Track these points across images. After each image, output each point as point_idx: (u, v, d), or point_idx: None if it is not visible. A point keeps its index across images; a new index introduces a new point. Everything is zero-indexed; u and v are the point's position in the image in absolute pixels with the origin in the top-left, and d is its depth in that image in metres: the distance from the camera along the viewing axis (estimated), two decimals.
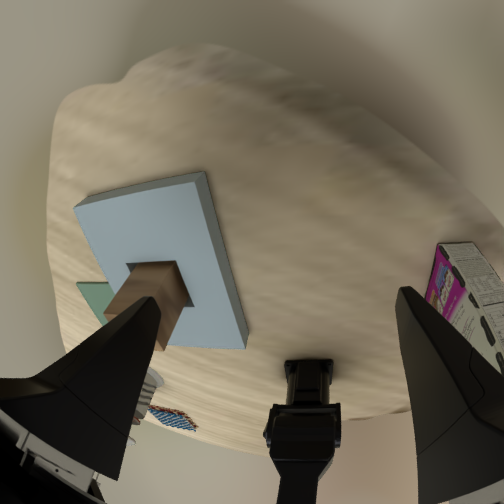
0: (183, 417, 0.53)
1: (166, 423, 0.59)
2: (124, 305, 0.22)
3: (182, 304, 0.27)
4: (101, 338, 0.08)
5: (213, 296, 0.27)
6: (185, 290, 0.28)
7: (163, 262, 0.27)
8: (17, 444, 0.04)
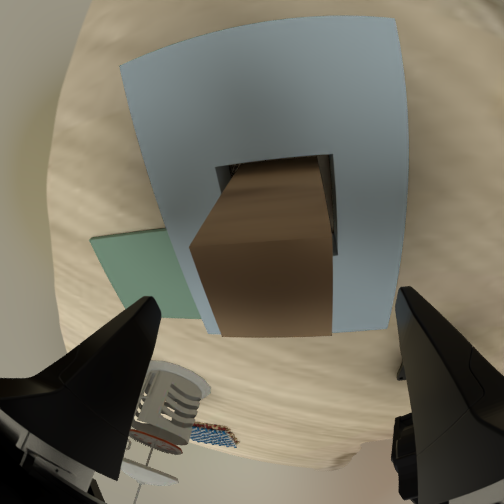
0: (226, 433, 0.41)
1: (198, 439, 0.46)
2: (252, 224, 0.09)
3: None
4: (101, 338, 0.08)
5: (380, 230, 0.15)
6: None
7: (294, 166, 0.14)
8: (17, 444, 0.04)
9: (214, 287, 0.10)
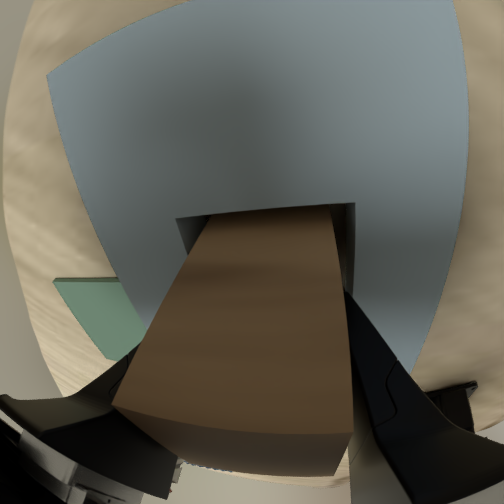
0: None
1: None
2: (212, 374, 0.05)
3: None
4: None
5: (409, 302, 0.10)
6: None
7: (294, 215, 0.10)
8: (63, 479, 0.03)
9: (163, 439, 0.05)
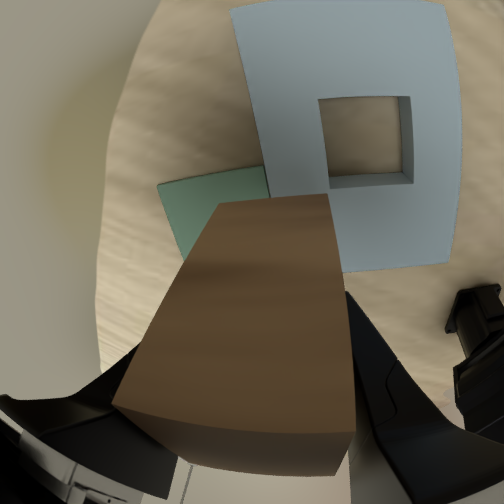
0: None
1: None
2: (213, 372, 0.05)
3: None
4: None
5: (444, 163, 0.15)
6: None
7: (295, 214, 0.10)
8: (63, 479, 0.03)
9: (163, 439, 0.05)
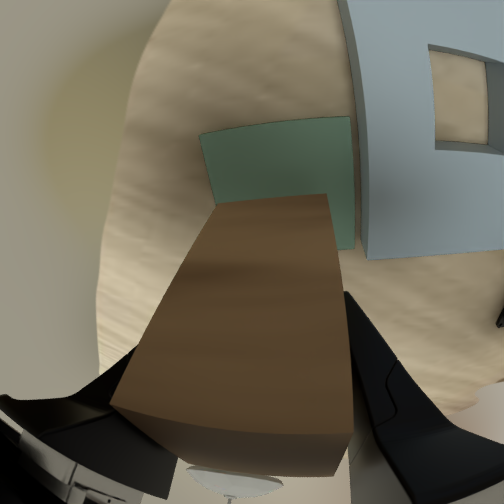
0: None
1: None
2: (211, 373, 0.05)
3: None
4: None
5: None
6: None
7: (294, 214, 0.10)
8: (63, 479, 0.03)
9: (162, 439, 0.05)
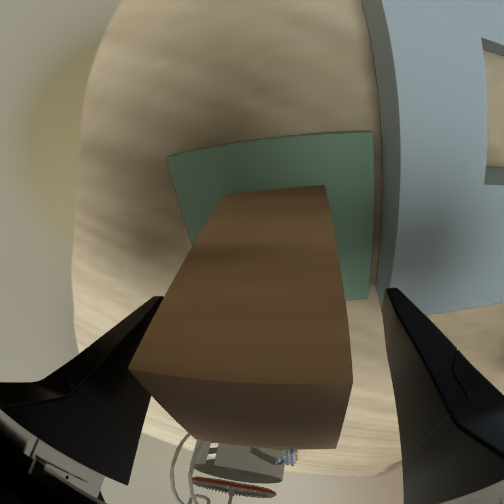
0: (294, 453, 0.32)
1: None
2: (223, 335, 0.06)
3: None
4: (112, 340, 0.08)
5: None
6: None
7: (295, 203, 0.10)
8: (26, 451, 0.04)
9: (174, 407, 0.06)
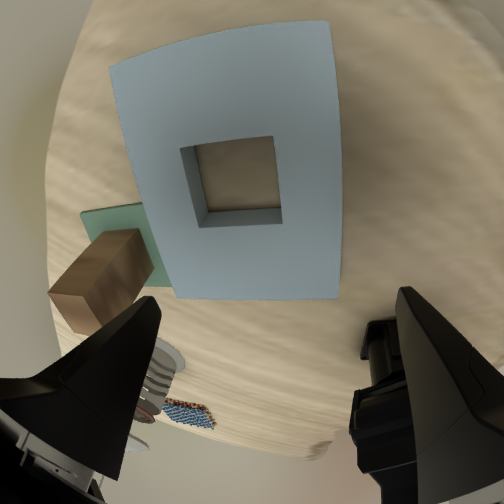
0: (204, 413, 0.44)
1: (177, 419, 0.49)
2: (69, 284, 0.18)
3: (138, 288, 0.23)
4: (101, 338, 0.08)
5: (319, 202, 0.18)
6: (143, 272, 0.24)
7: (118, 239, 0.22)
8: (17, 444, 0.04)
9: (60, 309, 0.18)
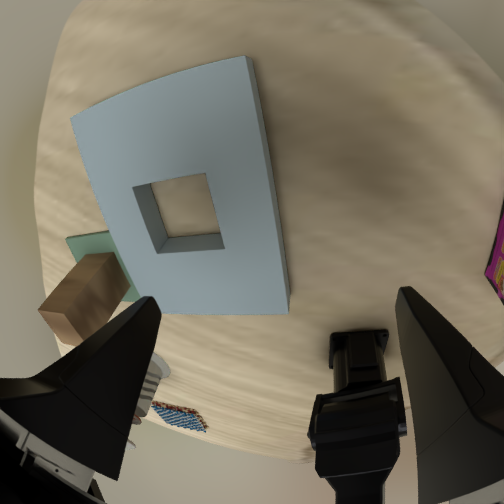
0: (195, 416, 0.46)
1: (171, 422, 0.51)
2: (54, 303, 0.20)
3: (115, 304, 0.25)
4: (101, 338, 0.08)
5: (254, 229, 0.20)
6: (119, 290, 0.26)
7: (96, 262, 0.25)
8: (17, 444, 0.04)
9: (49, 323, 0.20)
